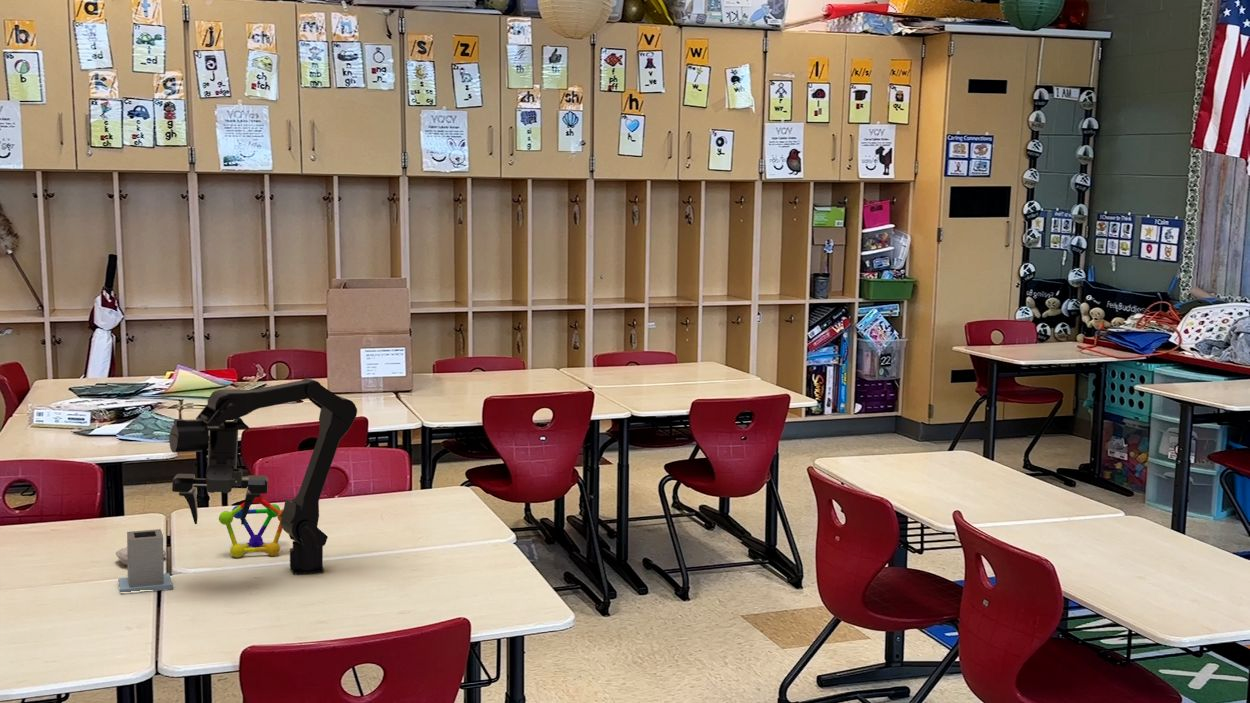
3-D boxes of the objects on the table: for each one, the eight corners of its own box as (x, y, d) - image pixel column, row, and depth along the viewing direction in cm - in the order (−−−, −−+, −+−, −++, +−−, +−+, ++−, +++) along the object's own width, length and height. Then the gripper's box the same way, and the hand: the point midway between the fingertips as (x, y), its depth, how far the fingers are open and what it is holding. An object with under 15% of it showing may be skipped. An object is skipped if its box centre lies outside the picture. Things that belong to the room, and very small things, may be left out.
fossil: (127, 537, 265) (172, 541, 265) (126, 555, 265) (170, 559, 265) (106, 549, 253) (153, 553, 253) (104, 568, 253) (151, 572, 253)
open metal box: (161, 575, 248) (160, 529, 247) (164, 584, 242) (163, 537, 241) (127, 578, 245) (126, 531, 244) (129, 587, 239) (128, 540, 238)
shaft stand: (169, 577, 249) (169, 557, 249) (172, 589, 242) (172, 568, 242) (118, 582, 245) (117, 562, 244) (120, 594, 238) (120, 573, 237)
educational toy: (277, 545, 279) (284, 483, 278) (288, 560, 268) (295, 496, 267) (209, 545, 272) (216, 482, 271) (218, 561, 261) (224, 495, 260)
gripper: (171, 456, 233) (167, 533, 235) (268, 459, 239) (264, 534, 240) (176, 446, 244) (173, 519, 245) (269, 449, 249) (266, 521, 251)
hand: (219, 524), depth 245 cm, fingers open, 9 cm apart
